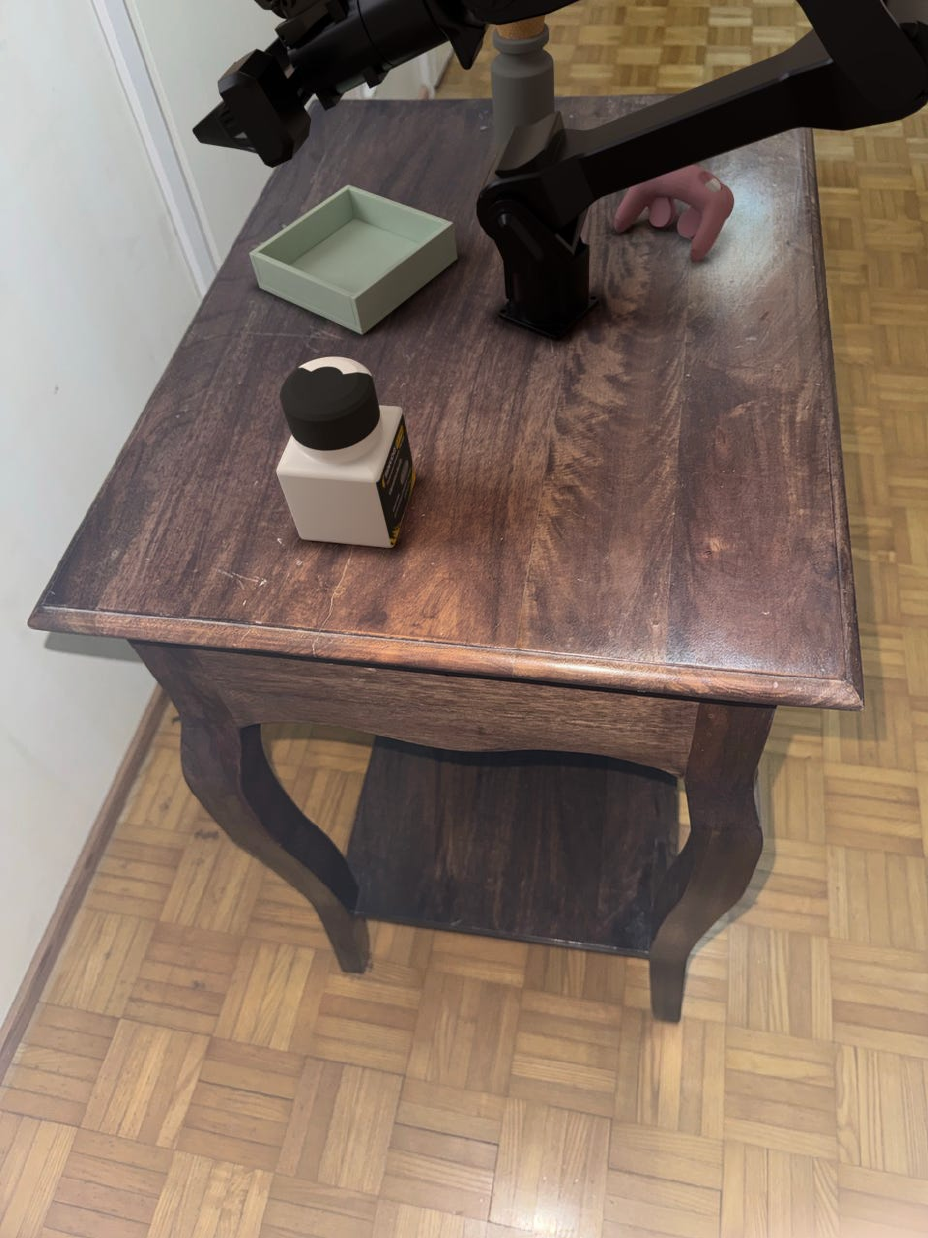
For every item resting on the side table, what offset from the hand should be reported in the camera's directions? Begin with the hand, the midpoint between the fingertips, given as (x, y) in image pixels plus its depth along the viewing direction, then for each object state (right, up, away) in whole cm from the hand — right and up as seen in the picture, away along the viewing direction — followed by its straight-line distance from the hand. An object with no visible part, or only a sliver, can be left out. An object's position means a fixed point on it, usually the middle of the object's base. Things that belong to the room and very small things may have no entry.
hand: (221, 106), depth 71 cm
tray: (+9, -8, +14) cm, 18 cm away
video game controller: (+38, -5, +13) cm, 40 cm away
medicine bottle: (+11, -32, -4) cm, 34 cm away
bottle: (+25, +5, +21) cm, 33 cm away
